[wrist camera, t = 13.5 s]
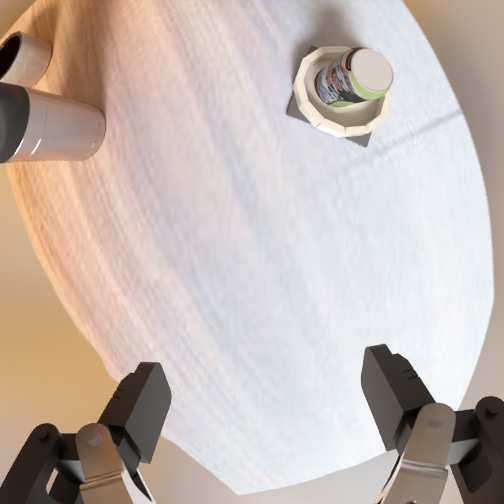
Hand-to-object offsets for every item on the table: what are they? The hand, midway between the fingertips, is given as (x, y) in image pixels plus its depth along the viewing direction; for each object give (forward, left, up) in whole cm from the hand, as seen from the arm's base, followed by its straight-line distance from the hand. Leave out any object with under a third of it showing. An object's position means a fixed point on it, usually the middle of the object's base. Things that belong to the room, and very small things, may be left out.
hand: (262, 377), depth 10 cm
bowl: (+4, +22, -29) cm, 37 cm away
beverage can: (+4, +22, -29) cm, 36 cm away
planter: (-53, +18, -30) cm, 64 cm away
